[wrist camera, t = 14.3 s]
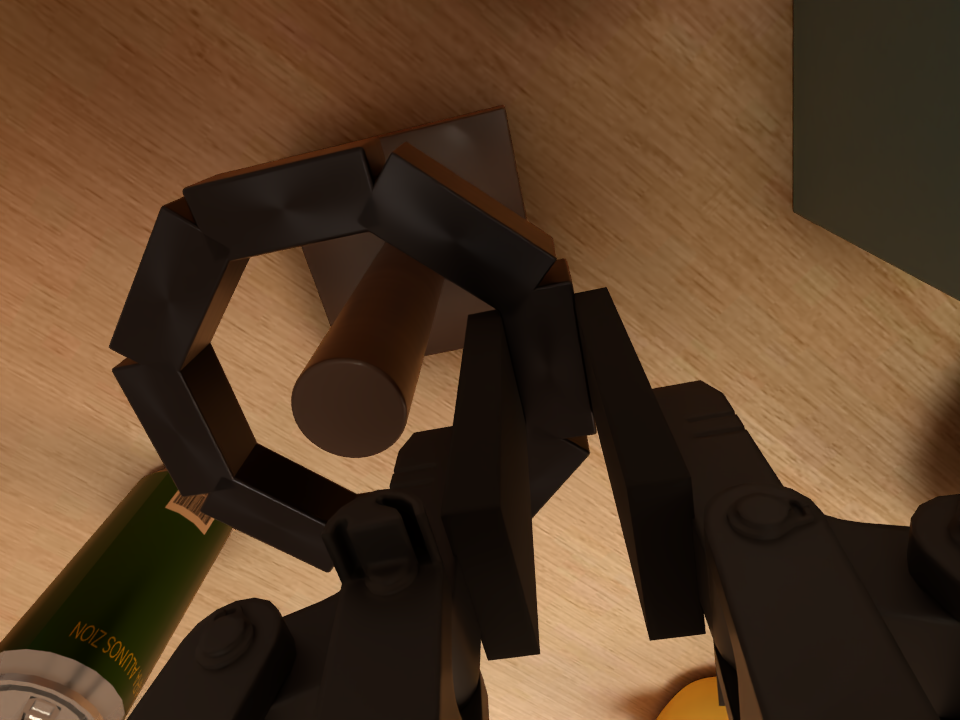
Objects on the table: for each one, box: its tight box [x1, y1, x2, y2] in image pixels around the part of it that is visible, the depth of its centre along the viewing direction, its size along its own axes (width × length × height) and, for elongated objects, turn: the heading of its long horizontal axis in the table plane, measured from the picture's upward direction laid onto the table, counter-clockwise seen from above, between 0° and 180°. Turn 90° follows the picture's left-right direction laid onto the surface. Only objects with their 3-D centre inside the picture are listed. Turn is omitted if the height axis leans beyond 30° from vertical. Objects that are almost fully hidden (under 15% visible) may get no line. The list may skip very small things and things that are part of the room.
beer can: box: [0, 468, 232, 720], centre depth 27 cm, size 5×5×12 cm
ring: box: [109, 137, 597, 572], centre depth 15 cm, size 11×11×2 cm
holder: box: [291, 105, 527, 458], centre depth 19 cm, size 9×9×14 cm
